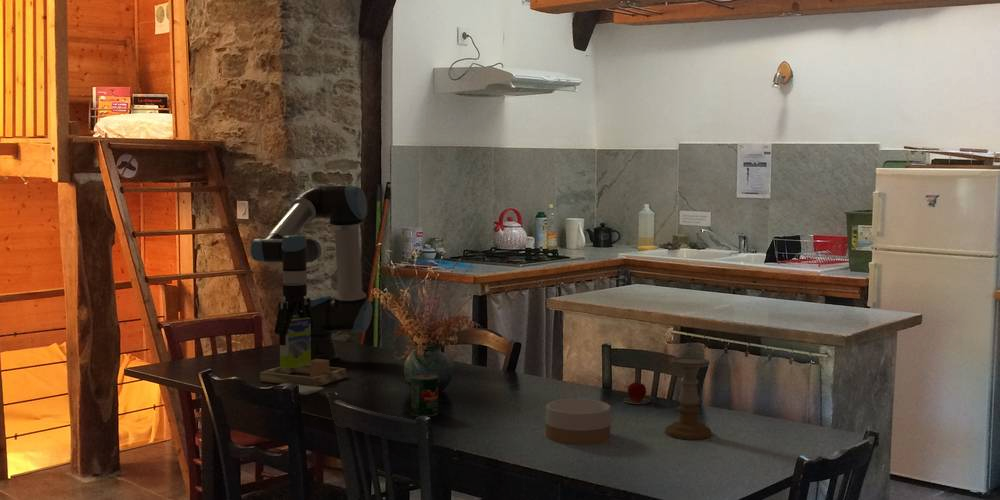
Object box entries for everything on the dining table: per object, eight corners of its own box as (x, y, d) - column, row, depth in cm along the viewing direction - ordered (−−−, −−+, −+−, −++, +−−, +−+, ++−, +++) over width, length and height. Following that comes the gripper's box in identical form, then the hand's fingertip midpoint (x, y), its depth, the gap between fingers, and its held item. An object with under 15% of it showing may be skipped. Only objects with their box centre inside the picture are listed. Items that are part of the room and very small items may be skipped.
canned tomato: (431, 417, 294) (431, 379, 293) (406, 415, 297) (406, 377, 296) (442, 411, 301) (442, 374, 300) (418, 409, 304) (418, 372, 303)
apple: (630, 398, 320) (631, 377, 319) (654, 401, 315) (654, 380, 315) (618, 403, 313) (618, 381, 313) (641, 406, 309) (642, 385, 308)
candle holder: (719, 438, 273) (721, 363, 271) (677, 441, 270) (679, 365, 268) (698, 426, 285) (699, 354, 283) (657, 429, 281) (658, 357, 280)
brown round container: (563, 448, 263) (564, 415, 263) (535, 432, 279) (535, 401, 278) (622, 441, 270) (622, 409, 270) (590, 425, 286) (591, 396, 285)
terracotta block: (316, 379, 346) (316, 358, 345) (329, 380, 344) (329, 360, 343) (309, 381, 342) (309, 360, 342) (322, 382, 340) (322, 362, 340)
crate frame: (292, 371, 359) (292, 363, 358) (346, 377, 349) (346, 368, 349) (260, 381, 342) (260, 372, 342) (315, 387, 333) (314, 378, 333)
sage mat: (285, 384, 337) (285, 383, 337) (323, 389, 330) (323, 387, 330) (268, 390, 329) (268, 388, 329) (307, 394, 322) (306, 392, 322)
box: (286, 369, 323) (286, 314, 322) (278, 367, 326) (277, 313, 325) (312, 364, 332) (311, 311, 330) (303, 363, 334) (303, 310, 333)
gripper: (306, 279, 339) (307, 345, 341) (262, 286, 318) (262, 357, 320) (325, 280, 336) (326, 347, 337) (281, 288, 315) (282, 359, 316)
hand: (295, 352), depth 329 cm, fingers closed on box, 11 cm apart
